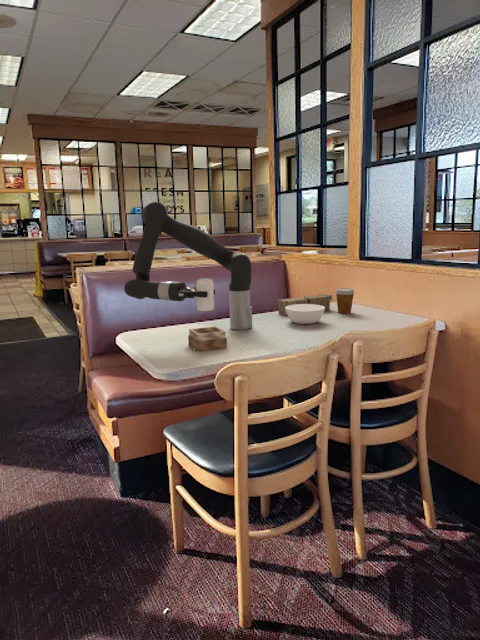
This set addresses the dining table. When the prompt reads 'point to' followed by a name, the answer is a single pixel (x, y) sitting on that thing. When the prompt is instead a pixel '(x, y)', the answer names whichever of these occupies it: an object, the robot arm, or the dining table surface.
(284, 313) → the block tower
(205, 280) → the can
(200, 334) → the square wooden tray
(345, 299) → the disposable coffee cup
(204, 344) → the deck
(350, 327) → the dining table surface
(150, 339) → the dining table surface
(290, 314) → the bowl
